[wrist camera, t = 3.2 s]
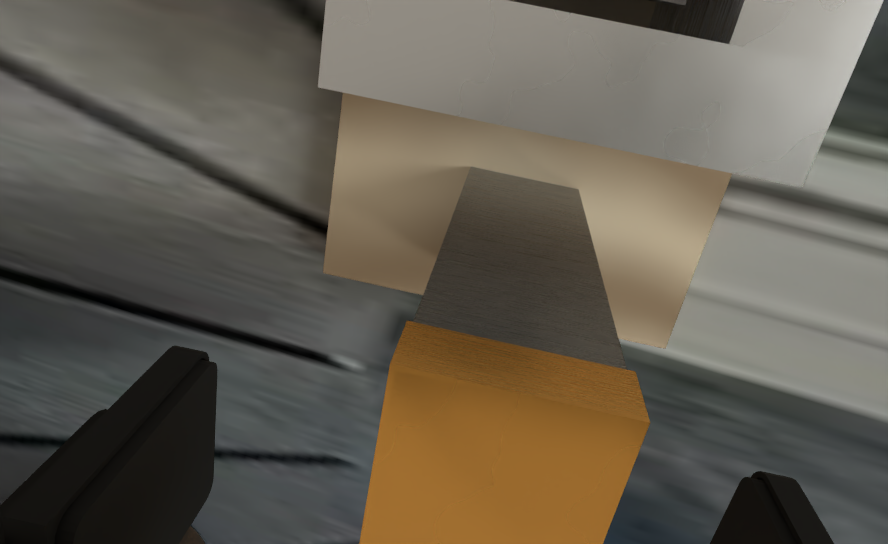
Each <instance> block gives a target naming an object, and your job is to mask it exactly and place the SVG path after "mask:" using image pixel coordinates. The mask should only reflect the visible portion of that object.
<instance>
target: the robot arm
mask: <svg viewBox="0 0 888 544" xmlns="http://www.w3.org/2000/svg"><path fill="white" fill-rule="evenodd" d="M216 392H217V365H216V363H214V362H210V361H209V357H208V354H207V353H206V352H203V351H198V350H193V349H189V348H184V347H180V346H172V347H171V348H169V349H168V350H167V351H166V352H165V353H164V354H163V355H162V356H161V357H160V358H159V359H158V360H157V361H156V362H155V363H154V364H153V365H152V366H151V367H150V368H149V369H148V370H147V371H146V372H145V373H144V374H143V375H142V376H141V377H140V378H139V379H138V380H137V381H136V382H135V383H134V384H133V385H132V386H131V387H130V388H129V389H128V390H127V391H126V392H125V393H124V394H123V395H122V396H121V397H120V398H119V399H118V400H117V401H116V402H115V403H114V404H113V405H112V406H111V407H110V408H109V409H108V410H106V409H105V410H101V411H98V412H97V413H96V414H94V415H93V416H92V417H91V418H90V419H89V420H88V421H87V422H85V423H84V424H83V425H82V426H81V427H80V428H79V429H78V430H77V431H76V432H75V433H74V434H73V435H72V436H71V437H70V438H69V439H68V440H67V441H66V442H65V443H64V444H63V445H62V446H61V447H60V448H59V449H58V450H57V451H56V452H55V453H54V454H53V455H52V456H51V457H50V458H49V459H48V460H47V461H46V462H44V463H43V464H42V465H41V466H40V467H39V468H38V469H37V470H36V471H35V472H34V473H33V474H32V475H31V476H30V477H29V478H28V479H27V480H26V481H25V482H24V483H23V484H22V485H21V486H20V487H19V488H18V489H17V490H16V491H15V492H14V493H13V494H12V495H11V496H10V497H9V498H8V499H7V500H6V501H4V502H3V503H2V504H1V505H0V544H179V543H180V542H181V540H182V538H183V537H184V535H185V534H186V532H187V530H188V529H189V527H190V525H191V524H192V522H193V521H194V519H195V517H196V516H197V514H198V513H199V511H200V509H201V508H202V506H203V505H204V503H205V501H206V500H207V498H208V496H209V493H210V490H211V487H212V483H213V474H214V447H215V419H216ZM710 544H834V543H833V541H832V539H831V538H830V536H829V534H828V533H827V531H826V529H825V527H824V526H823V524H822V522H821V521H820V519H819V517H818V516H817V514H816V512H815V511H814V509H813V507H812V506H811V504H810V502H809V500H808V499H807V497H806V495H805V494H804V492H803V490H802V489H801V487H800V485H799V484H798V483H797V481H796V480H794V479H793V478H790V477H785V476H780V475H776V474H771V473H766V472H762V471H758V472H755V473H754V474H753V475H752V476H751V478H749V477H745V478H743V479H742V480H741V482H740V483H739V485H738V487H737V489H736V491H735V493H734V496H733V498H732V500H731V502H730V504H729V506H728V508H727V510H726V512H725V514H724V516H723V518H722V520H721V522H720V524H719V526H718V528H717V530H716V532H715V534H714V536H713V538H712V541H711V543H710Z"/></svg>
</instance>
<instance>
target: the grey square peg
mask: <svg viewBox="0 0 888 544" xmlns="http://www.w3.org/2000/svg"><path fill="white" fill-rule="evenodd" d="M649 424H650V420H649V417H648V413H647V410H646V407H645V403H644V400H643V396H642V393H641V389H640V386H639V382H638V379H637V375H636V372H635V371H630V370H627V369H626V365H625V361H624V357H623V354H622V350H621V346H620V342H619V339H618V335H617V331H616V328H615V324H614V320H613V316H612V313H611V309H610V305H609V301H608V298H607V294H606V290H605V286H604V283H603V279H602V275H601V271H600V268H599V264H598V260H597V256H596V253H595V249H594V245H593V242H592V238H591V234H590V230H589V227H588V223H587V219H586V215H585V212H584V208H583V204H582V200H581V197H580V193H579V189H575V188H570V187H565V186H561V185H556V184H551V183H546V182H542V181H537V180H532V179H528V178H523V177H518V176H513V175H509V174H504V173H499V172H494V171H490V170H485V169H480V168H476V167H470V170H469V173H468V175H467V178H466V181H465V183H464V186H463V189H462V191H461V194H460V197H459V200H458V202H457V205H456V208H455V210H454V213H453V216H452V219H451V221H450V224H449V227H448V229H447V232H446V235H445V237H444V240H443V243H442V246H441V248H440V251H439V254H438V256H437V259H436V262H435V264H434V267H433V270H432V273H431V275H430V278H429V281H428V283H427V286H426V289H425V291H424V294H423V297H422V300H421V302H420V305H419V308H418V310H417V313H416V316H415V319H414V321H413V322H411V321H407V322H406V325H405V327H404V330H403V332H402V335H401V337H400V340H399V342H398V345H397V348H396V350H395V353H394V355H393V358H392V360H391V363H390V368H389V373H388V379H387V385H386V391H385V397H384V403H383V408H382V414H381V420H380V426H379V432H378V438H377V443H376V449H375V455H374V461H373V467H372V473H371V478H370V484H369V490H368V496H367V502H366V508H365V513H364V519H363V525H362V531H361V537H360V543H359V544H603V542H604V539H605V537H606V534H607V532H608V529H609V526H610V524H611V521H612V519H613V516H614V514H615V511H616V509H617V506H618V504H619V501H620V498H621V496H622V493H623V491H624V488H625V486H626V483H627V481H628V478H629V475H630V473H631V470H632V468H633V465H634V463H635V460H636V458H637V455H638V452H639V450H640V447H641V445H642V442H643V440H644V437H645V435H646V432H647V429H648V427H649Z"/></svg>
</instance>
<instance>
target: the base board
mask: <svg viewBox="0 0 888 544" xmlns="http://www.w3.org/2000/svg"><path fill="white" fill-rule="evenodd" d="M509 1H514V2H519V3H524V4H529V5H534V6H539V7H544V8H549V9H554V10H559V11H564V12H569V13H574V14H579V15H584V16H589V17H594V18H599V19H604V20H609V21H615V22H620V23H625V24H630V25H635V26H640V27H645V28H649V26H650V22H651V19H652V15H653V12H654V9H655V5H656V2H654V1H649V0H509ZM470 167H476V168H480V169H485V170H490V171H494V172H499V173H504V174H509V175H513V176H518V177H523V178H528V179H532V180H537V181H542V182H546V183H551V184H556V185H561V186H565V187H570V188H575V189H579V193H580V197H581V200H582V204H583V208H584V212H585V215H586V219H587V223H588V227H589V230H590V234H591V238H592V242H593V245H594V249H595V253H596V256H597V260H598V264H599V268H600V271H601V275H602V279H603V283H604V286H605V290H606V294H607V298H608V301H609V305H610V309H611V313H612V316H613V320H614V324H615V328H616V331H617V335H618V338H619V339H624V340H628V341H633V342H637V343H642V344H646V345H651V346H655V347H660V348H664V349H665V348H666V346H667V343H668V340H669V338H670V335H671V333H672V330H673V327H674V325H675V322H676V319H677V317H678V314H679V312H680V309H681V306H682V304H683V301H684V298H685V296H686V293H687V291H688V288H689V285H690V283H691V280H692V277H693V275H694V272H695V270H696V267H697V264H698V262H699V259H700V256H701V254H702V251H703V249H704V246H705V243H706V241H707V238H708V235H709V233H710V230H711V228H712V225H713V222H714V220H715V217H716V215H717V212H718V209H719V207H720V204H721V201H722V199H723V196H724V194H725V191H726V188H727V186H728V183H729V180H730V178H731V175H732V173H728V172H723V171H718V170H713V169H708V168H704V167H699V166H694V165H689V164H684V163H680V162H675V161H670V160H665V159H660V158H656V157H651V156H646V155H641V154H636V153H632V152H627V151H622V150H617V149H612V148H607V147H603V146H598V145H593V144H588V143H583V142H579V141H574V140H569V139H564V138H559V137H555V136H550V135H545V134H540V133H535V132H531V131H526V130H521V129H516V128H511V127H506V126H502V125H497V124H492V123H487V122H482V121H478V120H473V119H468V118H463V117H458V116H454V115H449V114H444V113H439V112H434V111H430V110H425V109H420V108H415V107H410V106H405V105H401V104H396V103H391V102H386V101H381V100H377V99H372V98H367V97H362V96H357V95H353V94H348V93H343V96H342V105H341V114H340V123H339V132H338V141H337V150H336V159H335V168H334V177H333V186H332V195H331V204H330V213H329V222H328V231H327V240H326V249H325V258H324V267H323V273H325V274H330V275H334V276H339V277H343V278H348V279H352V280H357V281H361V282H366V283H370V284H375V285H379V286H384V287H389V288H393V289H398V290H402V291H407V292H411V293H416V294H420V295H423V294H424V291H425V289H426V286H427V283H428V281H429V278H430V275H431V273H432V270H433V267H434V264H435V262H436V259H437V256H438V254H439V251H440V248H441V246H442V243H443V240H444V237H445V235H446V232H447V229H448V227H449V224H450V221H451V219H452V216H453V213H454V210H455V208H456V205H457V202H458V200H459V197H460V194H461V191H462V189H463V186H464V183H465V181H466V178H467V175H468V173H469V170H470Z"/></svg>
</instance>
